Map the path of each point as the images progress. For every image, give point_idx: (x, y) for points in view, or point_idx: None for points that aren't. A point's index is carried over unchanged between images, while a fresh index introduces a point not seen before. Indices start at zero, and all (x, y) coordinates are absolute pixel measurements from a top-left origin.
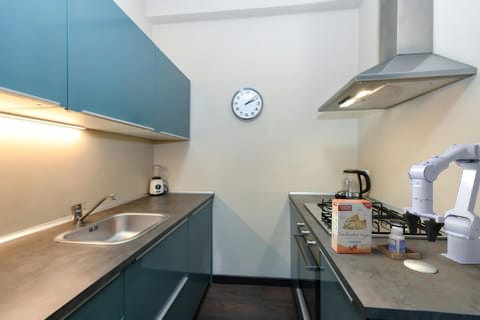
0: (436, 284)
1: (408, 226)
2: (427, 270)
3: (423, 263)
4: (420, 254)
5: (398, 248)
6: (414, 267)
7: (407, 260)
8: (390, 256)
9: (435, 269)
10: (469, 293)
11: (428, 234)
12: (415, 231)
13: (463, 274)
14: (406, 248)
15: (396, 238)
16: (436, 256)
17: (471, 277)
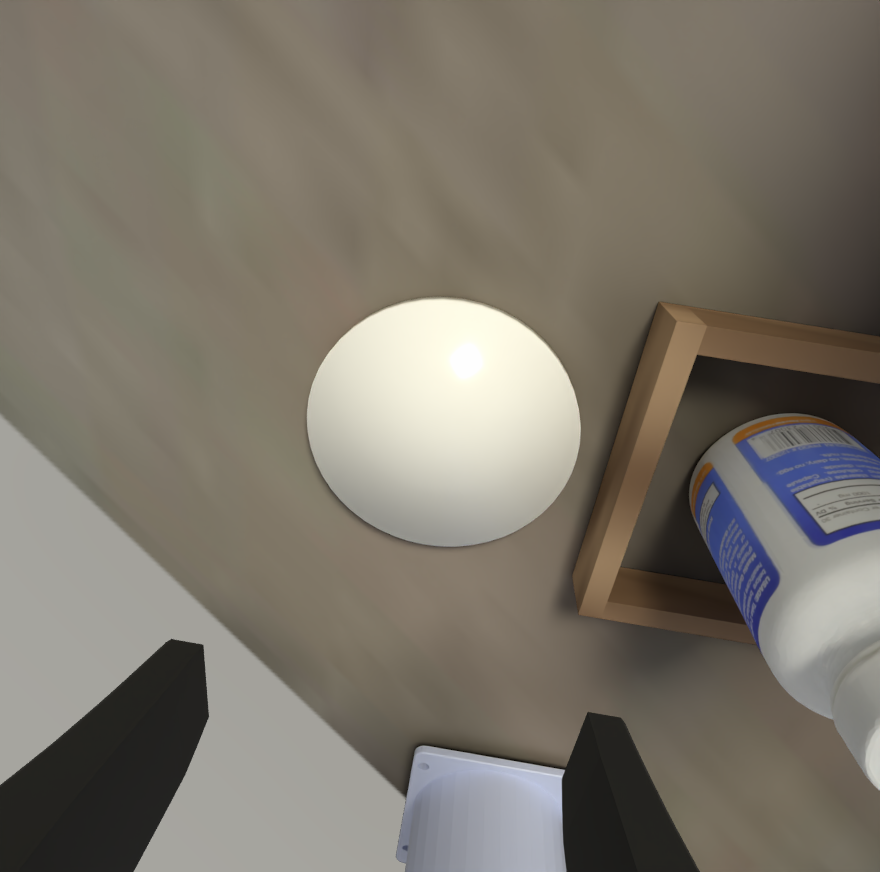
0: (115, 258)
1: (673, 867)
2: (333, 408)
3: (467, 506)
4: (579, 611)
5: (741, 492)
6: (404, 339)
7: (562, 417)
8: (715, 315)
9: (345, 495)
10: (8, 389)
11: (57, 749)
12: (572, 819)
13: (290, 624)
14: None
15: (830, 568)
16: None
17: (247, 627)
